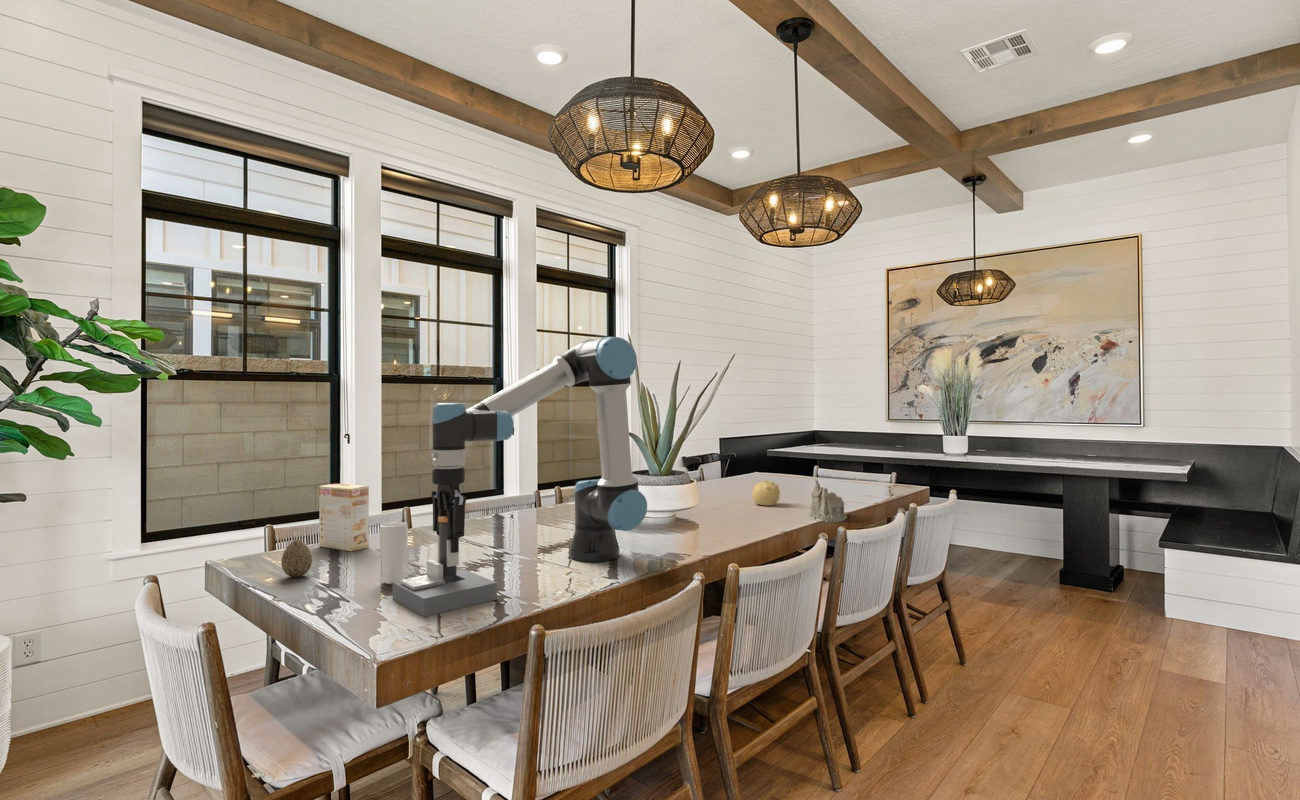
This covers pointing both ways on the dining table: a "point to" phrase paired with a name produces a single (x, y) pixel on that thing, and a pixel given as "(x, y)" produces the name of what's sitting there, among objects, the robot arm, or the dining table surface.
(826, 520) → the ceramic cottage
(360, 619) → the dining table surface
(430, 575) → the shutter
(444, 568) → the plug
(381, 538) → the drinking glass
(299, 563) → the decorative egg
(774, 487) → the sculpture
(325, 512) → the coffeecake box
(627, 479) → the robot arm
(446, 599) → the socket block
